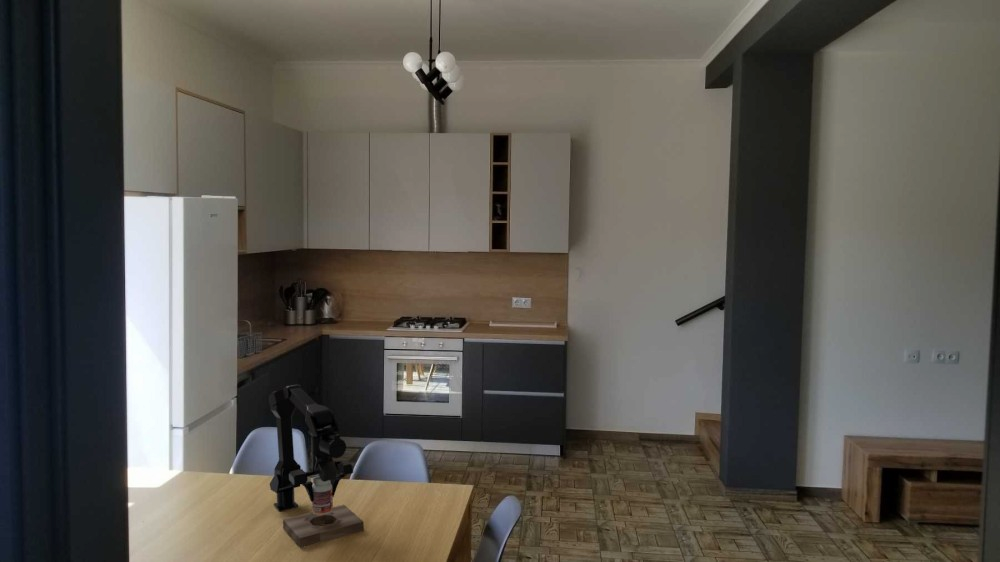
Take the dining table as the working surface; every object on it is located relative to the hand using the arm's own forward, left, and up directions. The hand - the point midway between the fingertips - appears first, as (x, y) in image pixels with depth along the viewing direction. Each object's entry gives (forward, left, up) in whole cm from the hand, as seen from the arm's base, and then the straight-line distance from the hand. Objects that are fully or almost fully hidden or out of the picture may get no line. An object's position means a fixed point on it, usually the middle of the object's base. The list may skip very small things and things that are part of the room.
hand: (322, 499), depth 213 cm
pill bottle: (0, 0, -4) cm, 4 cm away
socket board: (0, 0, -10) cm, 10 cm away
